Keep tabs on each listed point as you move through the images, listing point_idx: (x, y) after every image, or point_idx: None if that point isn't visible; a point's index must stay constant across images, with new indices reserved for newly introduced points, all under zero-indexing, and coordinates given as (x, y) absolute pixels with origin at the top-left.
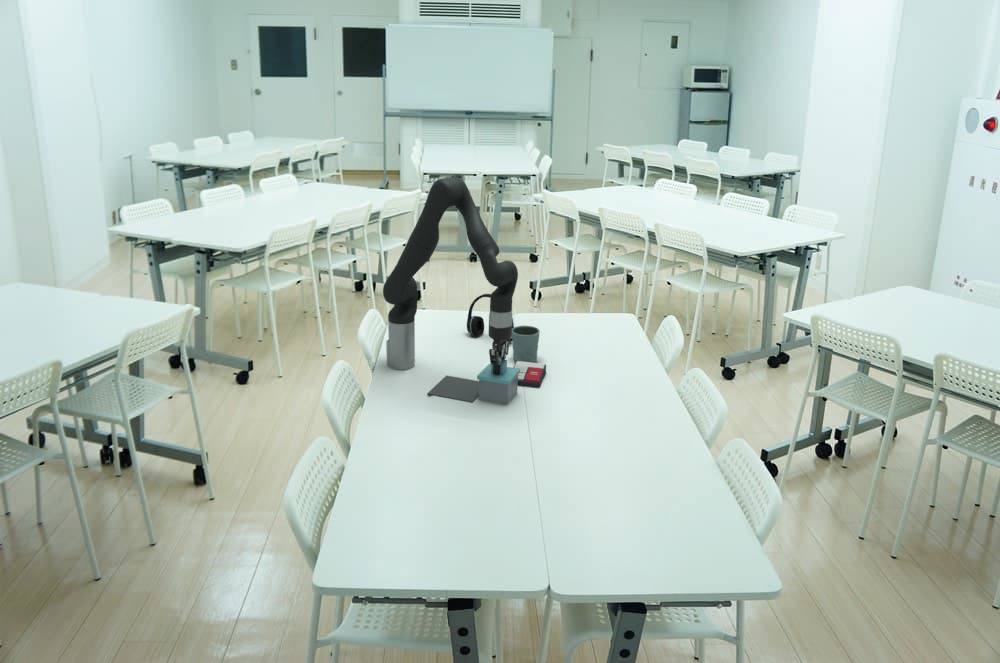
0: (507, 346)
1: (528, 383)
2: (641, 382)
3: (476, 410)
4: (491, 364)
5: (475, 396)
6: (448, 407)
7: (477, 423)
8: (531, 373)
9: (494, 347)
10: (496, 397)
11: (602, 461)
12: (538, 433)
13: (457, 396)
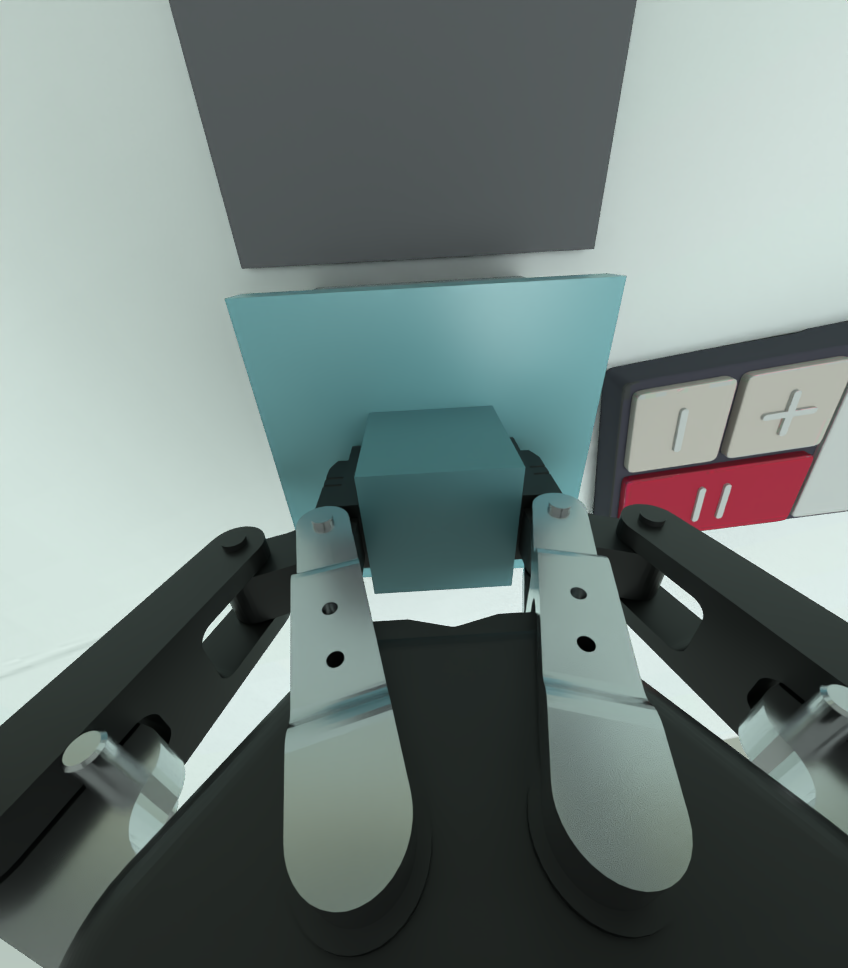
0: (694, 685)
1: (607, 491)
2: (709, 715)
3: (197, 334)
4: (359, 462)
5: (327, 250)
6: (67, 86)
7: (74, 409)
8: (711, 490)
9: (41, 953)
10: None
11: (203, 747)
12: (214, 624)
13: (235, 78)
